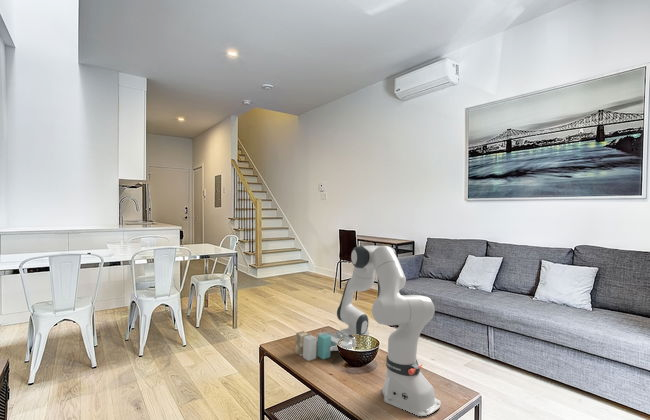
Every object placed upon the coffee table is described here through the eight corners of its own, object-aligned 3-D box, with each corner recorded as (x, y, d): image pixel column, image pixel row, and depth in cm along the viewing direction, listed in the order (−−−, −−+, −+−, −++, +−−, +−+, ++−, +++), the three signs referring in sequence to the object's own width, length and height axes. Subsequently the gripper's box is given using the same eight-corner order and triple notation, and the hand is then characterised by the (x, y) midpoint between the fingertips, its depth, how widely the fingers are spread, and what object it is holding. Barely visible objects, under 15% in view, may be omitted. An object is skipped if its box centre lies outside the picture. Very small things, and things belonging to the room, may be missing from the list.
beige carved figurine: (308, 353, 165) (308, 333, 165) (301, 356, 162) (301, 335, 162) (302, 350, 169) (303, 331, 169) (295, 353, 166) (296, 333, 166)
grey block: (316, 358, 161) (316, 337, 161) (308, 361, 158) (309, 339, 158) (310, 355, 164) (310, 334, 164) (302, 357, 161) (303, 336, 161)
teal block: (330, 356, 163) (330, 336, 163) (323, 359, 160) (324, 338, 160) (324, 353, 166) (324, 333, 166) (317, 356, 163) (317, 335, 163)
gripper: (329, 326, 179) (309, 332, 170) (357, 339, 164) (337, 346, 155) (329, 338, 179) (309, 345, 170) (357, 351, 164) (336, 359, 155)
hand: (322, 345), depth 162 cm, fingers open, 8 cm apart
